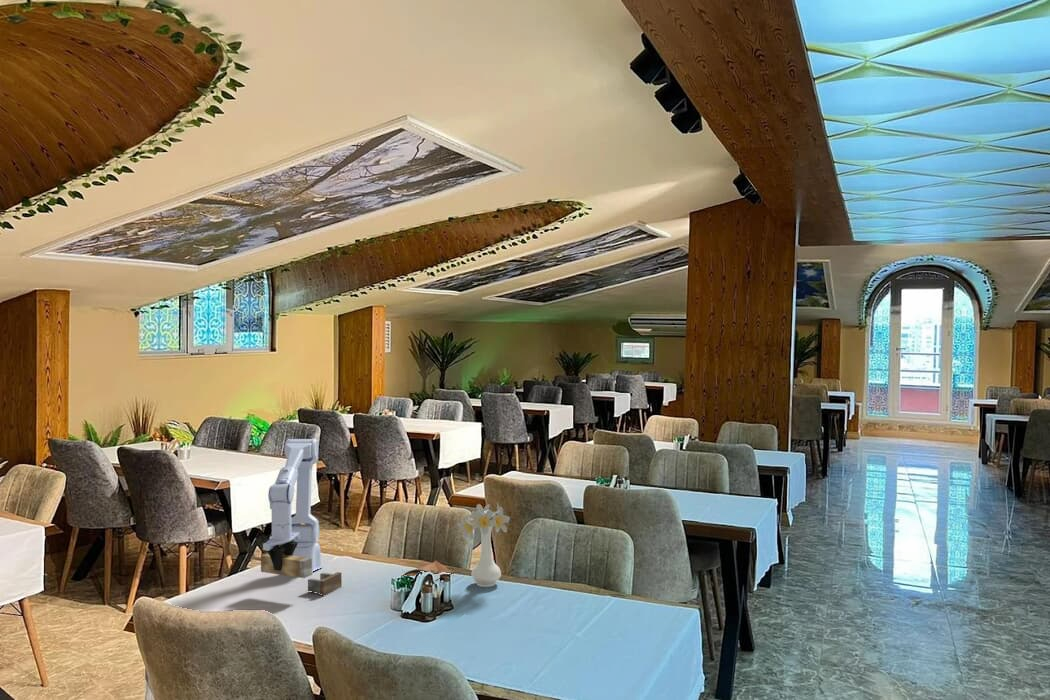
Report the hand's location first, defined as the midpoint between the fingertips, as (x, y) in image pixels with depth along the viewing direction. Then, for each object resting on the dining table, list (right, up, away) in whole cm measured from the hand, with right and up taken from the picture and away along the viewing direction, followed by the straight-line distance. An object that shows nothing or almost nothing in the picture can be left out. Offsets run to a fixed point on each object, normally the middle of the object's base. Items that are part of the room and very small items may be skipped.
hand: (282, 568), depth 245 cm
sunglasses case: (+42, -8, +17) cm, 46 cm away
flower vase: (+61, -8, +10) cm, 62 cm away
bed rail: (+1, -1, -1) cm, 2 cm away
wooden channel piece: (+11, -8, +5) cm, 14 cm away
